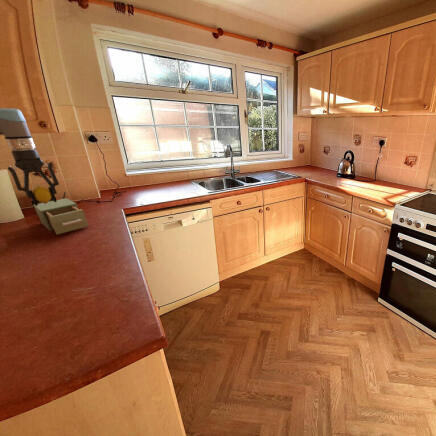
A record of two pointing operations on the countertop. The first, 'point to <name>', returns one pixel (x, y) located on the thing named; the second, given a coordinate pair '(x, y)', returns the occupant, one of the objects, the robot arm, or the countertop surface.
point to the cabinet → (51, 206)
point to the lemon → (42, 194)
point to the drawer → (66, 219)
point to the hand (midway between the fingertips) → (45, 203)
